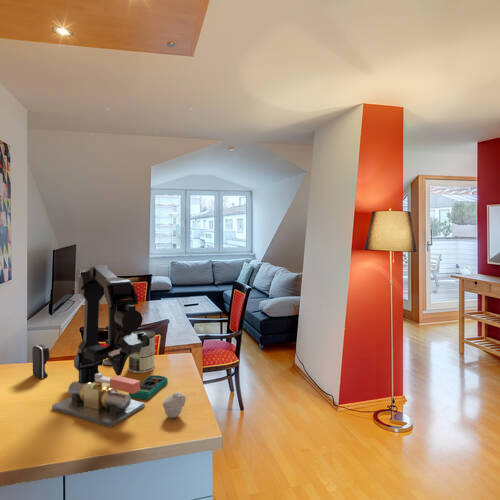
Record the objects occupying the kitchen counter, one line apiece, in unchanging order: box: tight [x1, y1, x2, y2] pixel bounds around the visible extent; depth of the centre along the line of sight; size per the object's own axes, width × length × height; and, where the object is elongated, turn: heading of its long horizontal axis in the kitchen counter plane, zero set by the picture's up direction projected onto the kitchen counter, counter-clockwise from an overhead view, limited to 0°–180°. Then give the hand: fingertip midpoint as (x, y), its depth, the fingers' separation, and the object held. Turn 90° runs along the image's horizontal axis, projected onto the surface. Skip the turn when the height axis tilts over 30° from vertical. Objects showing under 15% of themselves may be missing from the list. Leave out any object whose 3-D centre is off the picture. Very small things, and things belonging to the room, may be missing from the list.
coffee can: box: [128, 329, 156, 374], centre depth 149 cm, size 10×10×14 cm
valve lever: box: [95, 372, 141, 394], centre depth 112 cm, size 16×3×3 cm, turn 66°
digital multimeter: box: [128, 374, 169, 401], centre depth 129 cm, size 7×15×3 cm, turn 166°
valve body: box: [51, 381, 146, 428], centre depth 115 cm, size 24×14×8 cm, turn 65°
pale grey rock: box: [162, 391, 187, 419], centre depth 110 cm, size 6×7×7 cm
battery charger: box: [31, 344, 51, 379], centre depth 140 cm, size 7×4×11 cm, turn 52°
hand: (118, 375), depth 109 cm, fingers closed
